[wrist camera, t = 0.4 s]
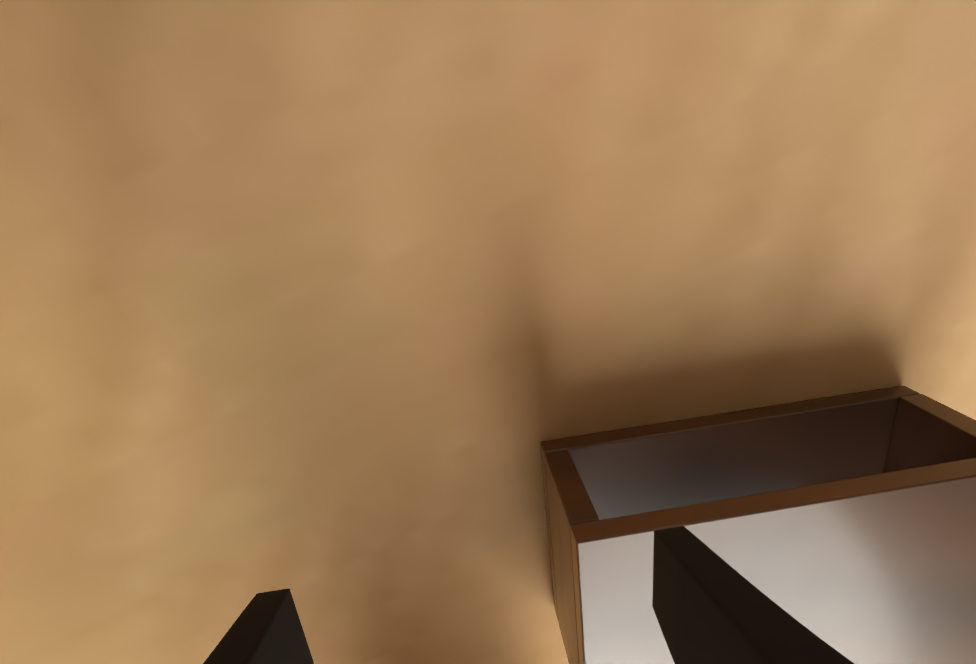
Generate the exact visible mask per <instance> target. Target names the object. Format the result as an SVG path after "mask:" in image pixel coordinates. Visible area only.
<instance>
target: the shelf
mask: <svg viewBox="0 0 976 664" xmlns="http://www.w3.org/2000/svg"><path fill="white" fill-rule="evenodd" d="M541 457H542V468H543V479H544V491H545V502H546V513H547V525H548V536H549V547H550V559H551V570H552V581H553V593H554V604H555V611H556V615H557V619H558V621H559V627H560V630H561V634H562V638H563V642H564V646H565V650H566V653H567V657H568V661H569V664H675V663H674V661H673V658H672V656H671V653H670V651H669V648H668V646H667V643H666V641H665V638H664V636H663V633H662V631H661V628H660V625H659V623H658V620H657V617H656V615H655V612H654V609H653V607H652V600H653V553H654V531H655V530H661V529H668V528H674V527H680V526H684V527H685V528H687V529H688V530H689V531H690V532H691V533H693V534H694V535H695V536H696V537H697V538H699V539H700V540H701V541H702V542H703V543H704V544H705V545H707V546H708V547H709V548H710V549H711V550H712V551H714V552H715V553H716V554H717V555H718V556H719V557H721V558H722V559H723V560H724V561H725V562H726V563H728V564H729V565H730V566H731V567H732V568H733V569H735V570H736V571H737V572H738V573H739V574H741V575H742V576H743V577H744V578H745V579H746V580H748V581H749V582H750V583H751V584H752V585H754V586H755V587H756V588H757V589H759V590H760V591H761V592H762V593H763V594H765V595H766V596H767V597H768V598H770V599H771V600H772V601H773V602H775V603H776V604H777V605H778V606H780V607H781V608H782V609H783V610H785V611H786V612H787V613H788V614H790V615H791V616H792V617H793V618H795V619H796V620H797V621H798V622H800V623H801V624H802V625H803V626H805V627H806V628H807V629H809V630H810V631H811V632H813V633H814V634H815V635H816V636H818V637H819V638H820V639H822V640H823V641H824V642H826V643H827V644H828V645H830V646H831V647H832V648H834V649H835V650H837V651H838V652H839V653H841V654H842V655H843V656H845V657H846V658H847V659H849V660H850V661H851V662H853V663H854V664H976V420H974V419H972V418H970V417H968V416H966V415H963V414H961V413H959V412H957V411H955V410H953V409H951V408H949V407H947V406H945V405H943V404H941V403H939V402H937V401H935V400H933V399H931V398H929V397H927V396H925V395H923V394H919V393H918V392H916V391H914V390H912V389H910V388H908V387H906V386H899V387H893V388H886V389H880V390H874V391H867V392H861V393H854V394H848V395H841V396H835V397H829V398H822V399H816V400H809V401H803V402H796V403H790V404H783V405H777V406H771V407H764V408H758V409H751V410H745V411H738V412H732V413H726V414H719V415H713V416H706V417H700V418H693V419H687V420H680V421H674V422H668V423H661V424H655V425H648V426H642V427H635V428H629V429H623V430H616V431H610V432H603V433H597V434H590V435H584V436H578V437H571V438H565V439H558V440H552V441H545V442H541Z"/></svg>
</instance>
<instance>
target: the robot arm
mask: <svg viewBox="0 0 976 664" xmlns="http://www.w3.org/2000/svg"><path fill="white" fill-rule="evenodd" d="M652 607H653V609H654V612H655V615H656V617H657V620H658V623H659V625H660V628H661V631H662V633H663V636H664V638H665V641H666V643H667V646H668V648H669V651H670V653H671V656H672V658H673V661H674V663H675V664H854V663H853V662H851V661H850V660H849V659H847V658H846V657H845V656H843V655H842V654H841V653H839V652H838V651H837V650H835V649H834V648H832V647H831V646H830V645H828V644H827V643H826V642H824V641H823V640H822V639H820V638H819V637H818V636H816V635H815V634H814V633H813V632H811V631H810V630H809V629H807V628H806V627H805V626H803V625H802V624H801V623H800V622H798V621H797V620H796V619H795V618H793V617H792V616H791V615H790V614H788V613H787V612H786V611H785V610H783V609H782V608H781V607H780V606H778V605H777V604H776V603H775V602H773V601H772V600H771V599H770V598H768V597H767V596H766V595H765V594H763V593H762V592H761V591H760V590H759V589H757V588H756V587H755V586H754V585H752V584H751V583H750V582H749V581H748V580H746V579H745V578H744V577H743V576H742V575H741V574H739V573H738V572H737V571H736V570H735V569H733V568H732V567H731V566H730V565H729V564H728V563H726V562H725V561H724V560H723V559H722V558H721V557H719V556H718V555H717V554H716V553H715V552H714V551H712V550H711V549H710V548H709V547H708V546H707V545H705V544H704V543H703V542H702V541H701V540H700V539H699V538H697V537H696V536H695V535H694V534H693V533H691V532H690V531H689V530H688V529H687V528H685V527H684V526H680V527H674V528H668V529H661V530H655V531H654V553H653V600H652ZM203 664H314V662H313V659H312V656H311V653H310V650H309V647H308V644H307V641H306V638H305V635H304V632H303V629H302V626H301V623H300V620H299V616H298V613H297V610H296V607H295V604H294V601H293V598H292V595H291V592H290V589H283V590H277V591H270V592H264V593H258V594H256V596H255V597H254V598H253V599H252V601H251V602H250V603H249V604H248V606H247V607H246V608H245V610H244V611H243V612H242V613H241V615H240V616H239V617H238V619H237V620H236V621H235V623H234V624H233V625H232V627H231V628H230V629H229V631H228V632H227V633H226V634H225V636H224V637H223V638H222V640H221V641H220V642H219V644H218V645H217V646H216V648H215V649H214V650H213V652H212V653H211V654H210V655H209V657H208V658H207V659H206V661H205V662H204V663H203Z"/></svg>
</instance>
